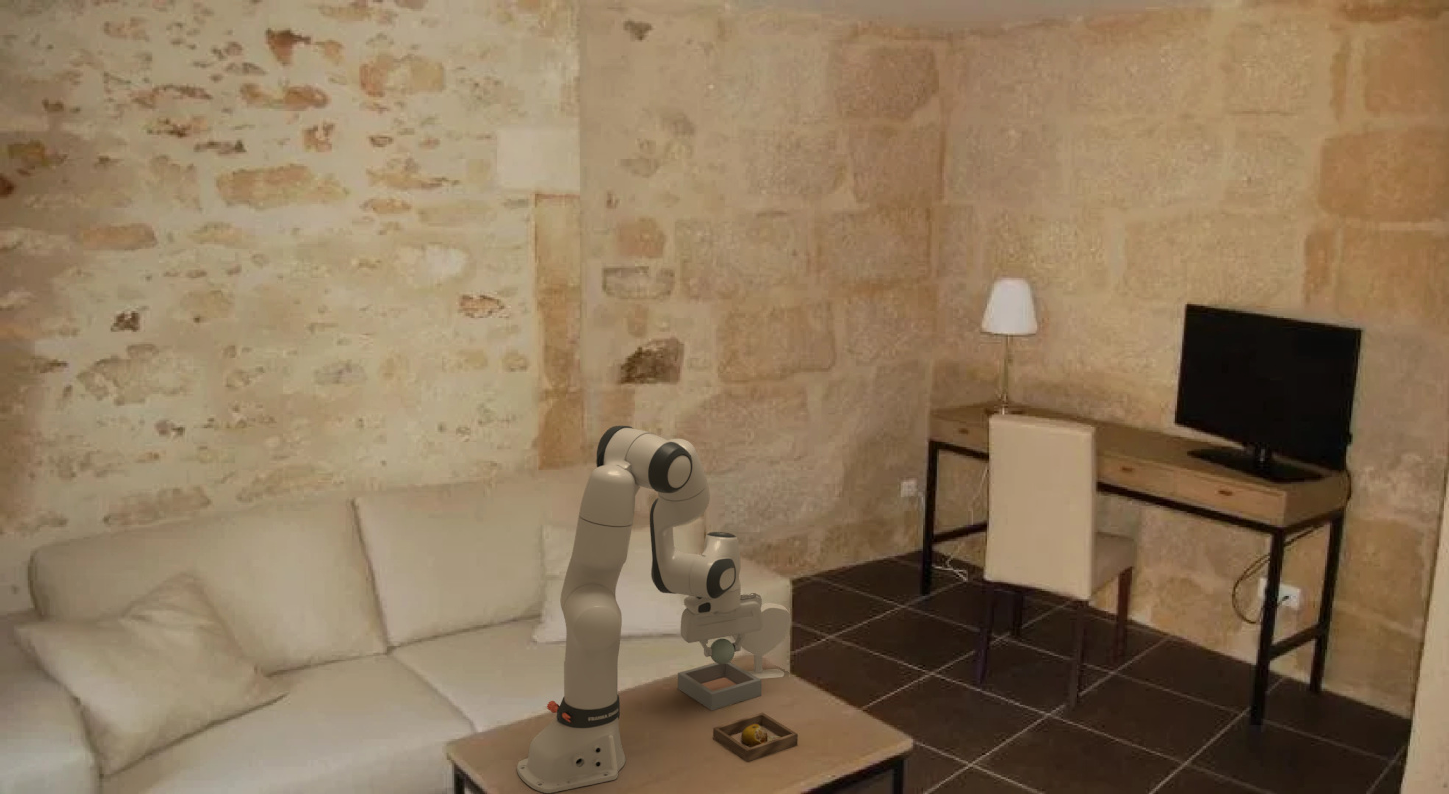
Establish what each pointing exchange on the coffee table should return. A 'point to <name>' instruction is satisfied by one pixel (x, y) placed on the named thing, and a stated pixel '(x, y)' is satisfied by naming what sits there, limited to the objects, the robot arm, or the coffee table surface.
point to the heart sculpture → (767, 638)
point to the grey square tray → (719, 685)
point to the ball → (722, 651)
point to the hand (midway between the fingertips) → (722, 653)
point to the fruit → (755, 735)
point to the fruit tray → (748, 754)
